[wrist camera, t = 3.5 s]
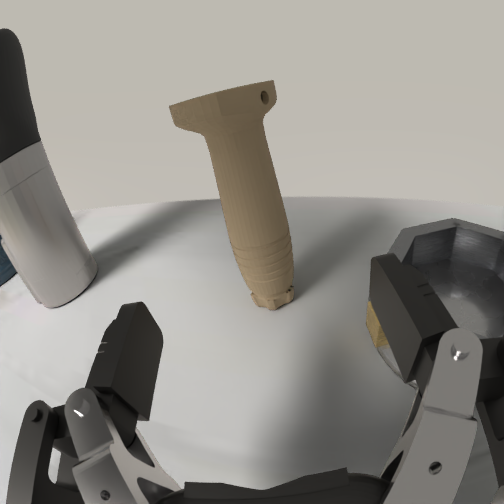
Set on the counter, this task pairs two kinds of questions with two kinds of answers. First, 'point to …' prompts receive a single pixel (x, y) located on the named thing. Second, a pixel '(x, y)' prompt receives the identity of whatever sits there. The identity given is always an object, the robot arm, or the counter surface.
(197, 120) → the handle
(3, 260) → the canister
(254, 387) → the counter surface
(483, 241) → the grey shallow octagonal dish
